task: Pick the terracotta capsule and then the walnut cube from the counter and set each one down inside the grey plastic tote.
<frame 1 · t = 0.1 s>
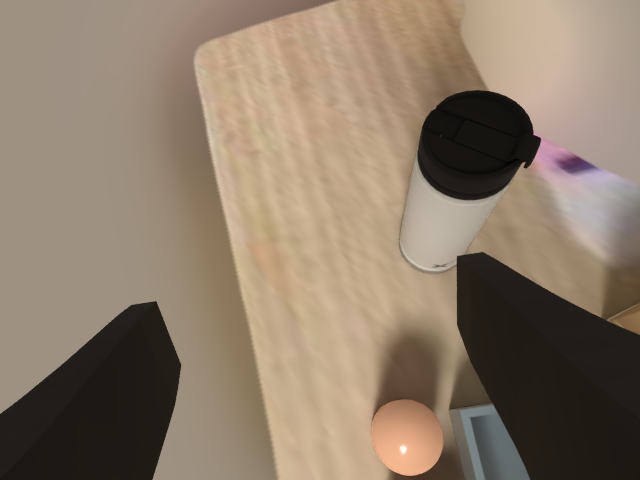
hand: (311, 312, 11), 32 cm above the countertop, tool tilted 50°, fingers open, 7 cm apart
terracotta capsule: (400, 431, 39), on the countertop
travel mug: (432, 245, 45), on the countertop
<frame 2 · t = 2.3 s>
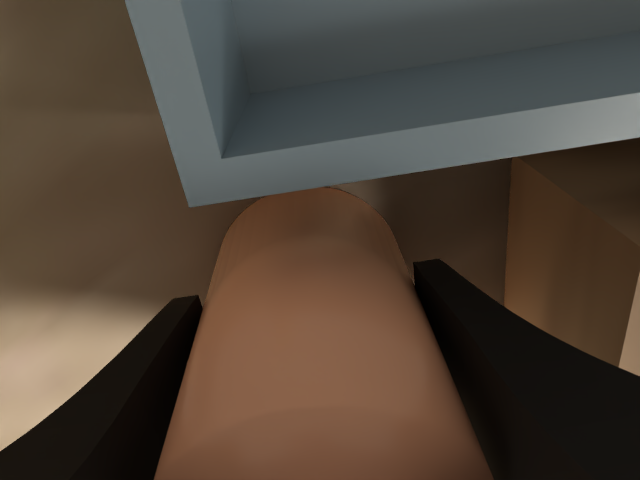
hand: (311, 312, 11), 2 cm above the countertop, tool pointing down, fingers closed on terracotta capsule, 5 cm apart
terracotta capsule: (309, 270, 13), on the countertop, touching gripper
walnut cube: (597, 224, 13), on the countertop
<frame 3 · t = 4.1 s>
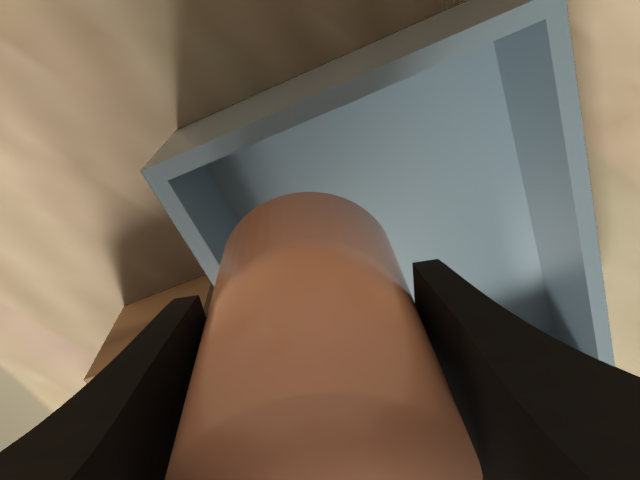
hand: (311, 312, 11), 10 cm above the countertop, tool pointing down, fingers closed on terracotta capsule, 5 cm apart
tote: (395, 242, 22), on the countertop
terracotta capsule: (308, 271, 13), point 7 cm above the countertop, touching gripper
walnut cube: (194, 325, 24), on the countertop
when the fingers open (5 cm above the countertop, at t = 5.7 s): terracotta capsule drops 2 cm, resting on tote.
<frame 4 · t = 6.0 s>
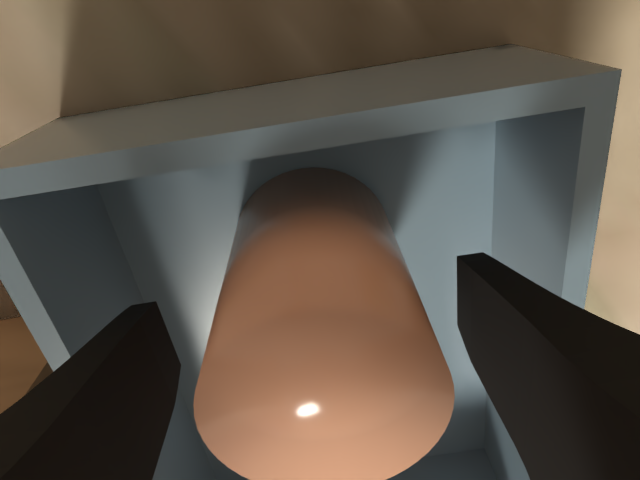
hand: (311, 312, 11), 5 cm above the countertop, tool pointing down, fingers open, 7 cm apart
tote: (324, 317, 17), on the countertop
terracotta capsule: (313, 240, 15), point 1 cm above the countertop, touching tote
walnut cube: (47, 366, 18), on the countertop
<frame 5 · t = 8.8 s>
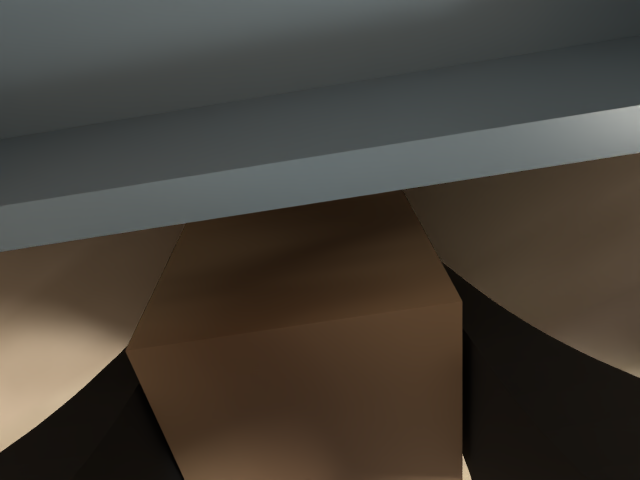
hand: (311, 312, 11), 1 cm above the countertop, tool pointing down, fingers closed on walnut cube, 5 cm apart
walnut cube: (309, 280, 12), on the countertop, touching gripper
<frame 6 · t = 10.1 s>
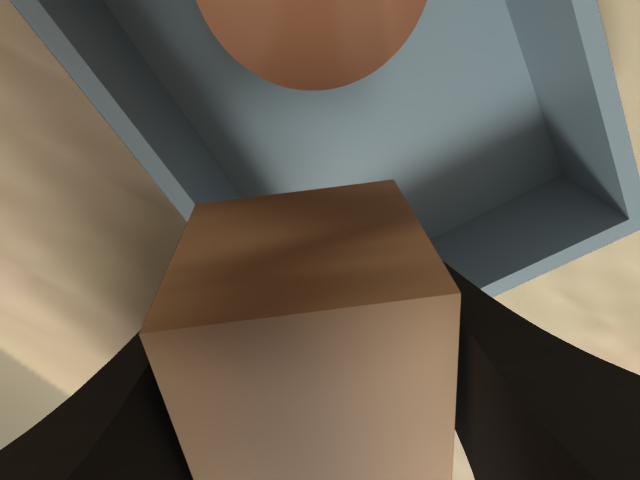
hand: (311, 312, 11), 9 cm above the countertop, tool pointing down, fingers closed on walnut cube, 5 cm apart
tote: (345, 73, 18), on the countertop
walnut cube: (306, 275, 13), point 8 cm above the countertop, touching gripper
when the fingers open (4 cm above the countertop, at t = 11.8 s): walnut cube drops 2 cm, resting on tote.
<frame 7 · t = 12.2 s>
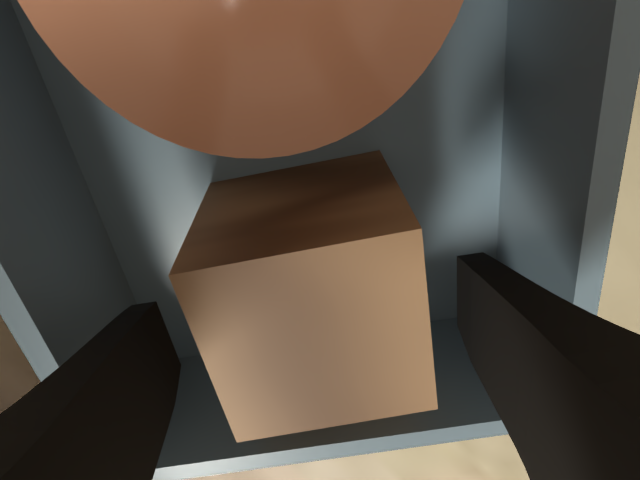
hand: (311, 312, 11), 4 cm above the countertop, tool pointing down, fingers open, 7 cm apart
tote: (285, 106, 13), on the countertop
walnut cube: (310, 241, 14), point 1 cm above the countertop, touching tote
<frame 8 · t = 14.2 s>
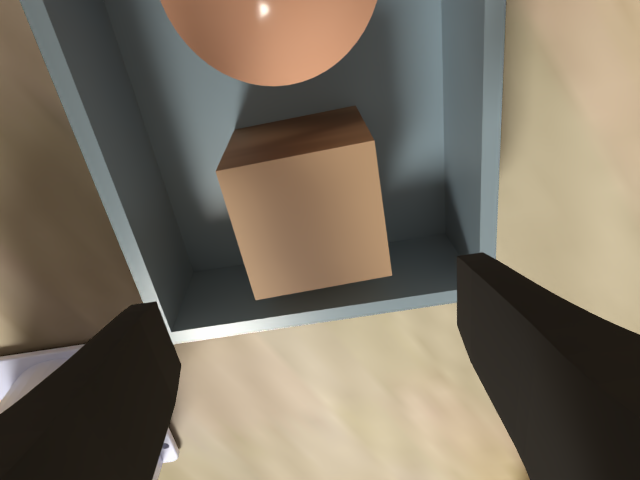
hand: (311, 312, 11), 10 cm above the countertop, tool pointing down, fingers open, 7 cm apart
tote: (288, 73, 18), on the countertop
walnut cube: (306, 175, 20), point 1 cm above the countertop, touching tote
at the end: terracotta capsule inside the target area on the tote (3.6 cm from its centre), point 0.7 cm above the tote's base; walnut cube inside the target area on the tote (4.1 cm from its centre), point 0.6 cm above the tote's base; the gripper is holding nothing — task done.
